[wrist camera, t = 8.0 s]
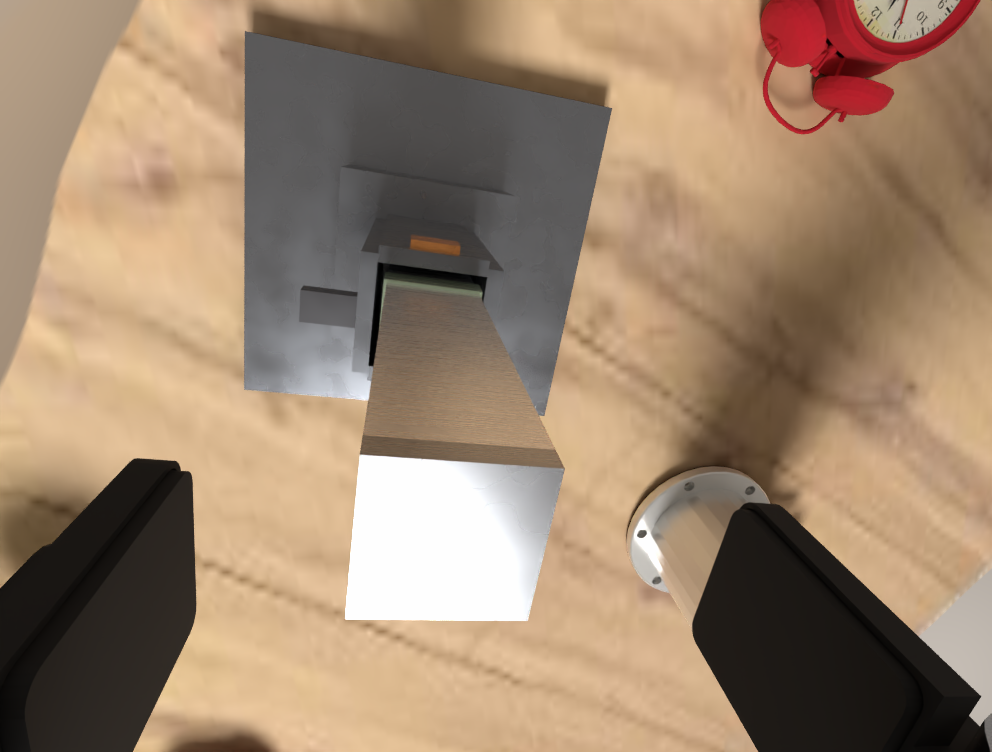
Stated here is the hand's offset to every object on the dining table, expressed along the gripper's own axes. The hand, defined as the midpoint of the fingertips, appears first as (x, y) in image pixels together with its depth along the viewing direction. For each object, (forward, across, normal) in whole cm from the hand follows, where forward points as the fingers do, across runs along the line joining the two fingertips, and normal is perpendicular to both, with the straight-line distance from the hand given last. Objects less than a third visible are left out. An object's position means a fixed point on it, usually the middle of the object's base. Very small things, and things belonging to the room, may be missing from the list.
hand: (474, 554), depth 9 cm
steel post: (+16, +1, -1) cm, 16 cm away
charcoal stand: (+28, +1, -1) cm, 28 cm away
